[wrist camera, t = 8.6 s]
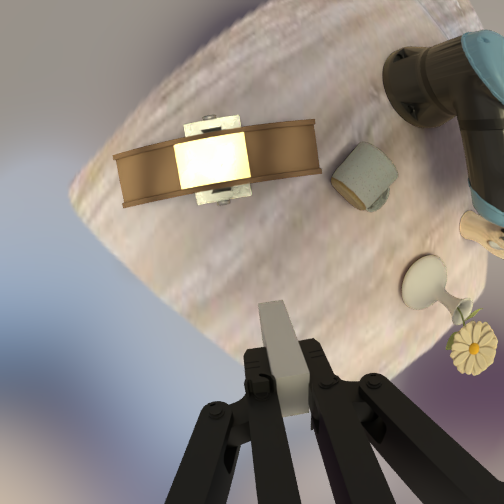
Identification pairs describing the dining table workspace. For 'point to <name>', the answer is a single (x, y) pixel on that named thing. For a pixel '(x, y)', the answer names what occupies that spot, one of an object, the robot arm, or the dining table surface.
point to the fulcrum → (211, 125)
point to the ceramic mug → (365, 177)
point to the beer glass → (483, 233)
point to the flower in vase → (472, 334)
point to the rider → (212, 160)
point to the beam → (261, 169)
